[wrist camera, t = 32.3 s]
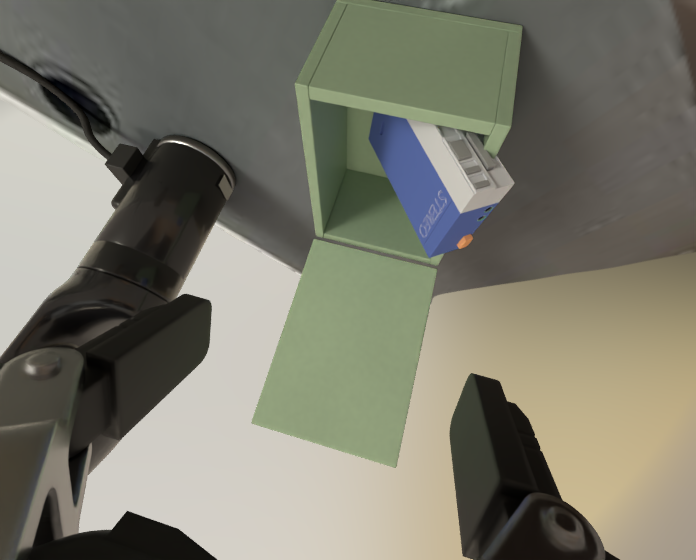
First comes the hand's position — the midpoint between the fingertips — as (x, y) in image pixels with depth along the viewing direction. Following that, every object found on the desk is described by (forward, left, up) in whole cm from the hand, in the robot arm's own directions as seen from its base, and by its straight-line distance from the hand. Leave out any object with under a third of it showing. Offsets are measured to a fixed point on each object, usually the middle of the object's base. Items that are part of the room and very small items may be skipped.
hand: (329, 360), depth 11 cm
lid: (-1, -18, -5) cm, 19 cm away
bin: (-1, -10, -23) cm, 25 cm away
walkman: (-2, -7, -21) cm, 23 cm away
